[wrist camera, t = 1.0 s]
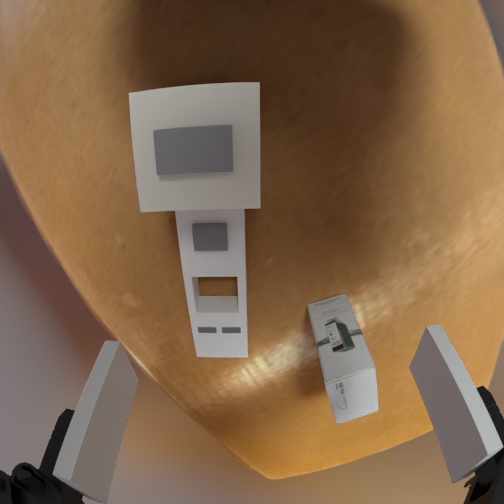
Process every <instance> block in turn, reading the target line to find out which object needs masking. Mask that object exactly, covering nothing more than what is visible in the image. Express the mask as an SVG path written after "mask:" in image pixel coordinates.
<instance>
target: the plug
mask: <svg viewBox="0 0 504 504" xmlns="http://www.w3.org/2000/svg"><path fill="white" fill-rule="evenodd" d="M129 106H130V121H131V134H132V146H133V156H134V165H135V174H136V182H137V190H138V198H139V205H140V212H156V211H180V210H211V209H261V197H260V82H238V83H215V84H200V85H188V86H178V87H168V88H160V89H153V90H146V91H139V92H133V93H129Z"/></svg>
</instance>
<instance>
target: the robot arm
mask: <svg viewBox="0 0 504 504" xmlns="http://www.w3.org/2000/svg"><path fill="white" fill-rule="evenodd" d="M409 368H410V370H411V372H412V375H413V377H414V379H415V382H416V384H417V387H418V389H419V391H420V394H421V396H422V399H423V401H424V404H425V406H426V409H427V412H428V414H429V417H430V419H431V422H432V425H433V427H434V430H435V433H436V436H437V438H438V441H439V444H440V447H441V450H442V453H443V456H444V459H445V462H446V465H447V468H448V471H449V474H450V478H451V481H452V483H455V482H457V481H459V480H462V479H464V478H466V477H468V476H469V475H471V474H472V473H473V472H475V476H474V477H473V478H471V479H470V480H469V481H467V482H466V484H465V485H464V487H467V486H468V485H470V484H471V486H470V487H469V491H468V494H467V496H466V499H465V501H464V504H504V419H503V416H502V414H501V413H500V410H499V408H498V406H497V405H496V402H495V400H494V398H493V396H492V394H491V393H490V392H489V391H488V390H487V389H486V388H485V387H484V386H481V387H478V388H476V387H475V385H474V383H473V381H472V379H471V377H470V375H469V374H468V372H467V370H466V368H465V366H464V364H463V363H462V361H461V359H460V357H459V355H458V354H457V352H456V350H455V349H454V347H453V345H452V343H451V342H450V340H449V338H448V337H447V335H446V333H445V332H444V330H443V328H442V327H441V325H440V324H437V325H432V326H426V328H425V331H424V333H423V336H422V338H421V341H420V343H419V346H418V348H417V351H416V353H415V355H414V358H413V360H412V362H411V364H410V367H409ZM138 382H139V380H138V378H137V376H136V374H135V372H134V370H133V368H132V366H131V364H130V362H129V359H128V357H127V355H126V353H125V351H124V348H123V346H122V344H121V342H120V341H105V342H104V345H103V347H102V349H101V351H100V353H99V356H98V358H97V360H96V362H95V364H94V367H93V369H92V371H91V374H90V376H89V378H88V380H87V383H86V385H85V387H84V390H83V392H82V395H81V397H80V400H79V402H78V404H77V407H76V410H75V411H74V410H70V409H66V410H65V411H64V412H63V413H62V414H61V415H60V416H59V418H58V420H57V422H56V425H55V430H53V433H52V435H51V439H50V441H49V443H48V446H47V449H46V452H45V454H44V457H43V460H42V463H41V466H40V468H39V470H38V469H36V468H35V467H34V466H32V465H31V464H29V463H20V464H18V465H17V466H16V467H15V468H14V469H13V471H12V475H11V476H9V475H7V474H6V473H5V472H3V471H1V470H0V504H84V502H83V501H82V497H83V496H85V497H87V498H88V499H90V500H93V501H97V502H100V503H104V504H107V500H108V495H109V490H110V486H111V482H112V478H113V473H114V469H115V465H116V461H117V457H118V453H119V449H120V445H121V442H122V438H123V434H124V430H125V427H126V423H127V420H128V416H129V413H130V409H131V406H132V402H133V399H134V395H135V392H136V389H137V385H138Z"/></svg>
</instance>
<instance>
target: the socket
mask: <svg viewBox="0 0 504 504" xmlns="http://www.w3.org/2000/svg"><path fill="white" fill-rule="evenodd" d="M175 216H176V224H177V233H178V241H179V249H180V256H181V264H182V271H183V278H184V284H185V291H186V297H187V304H188V310H189V316H190V322H191V327H192V333H193V339H194V344H195V349H196V355H197V357H248V318H247V280H246V239H245V209H211V210H180V211H175ZM198 277H237V283H238V296H200V290H199V282H198Z"/></svg>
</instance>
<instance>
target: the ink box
mask: <svg viewBox="0 0 504 504" xmlns="http://www.w3.org/2000/svg"><path fill="white" fill-rule="evenodd" d="M307 309H308V313H309V317H310V321H311V325H312V330H313V334H314V338H315V343H316V347H317V351H318V356H319V360H320V364H321V369H322V373H323V378H324V384H325V389H326V392H327V395H328V399H329V401H330V404H331V408H332V411H333V415H334V418H335V422H336V423H338V424H339V423H343V422H346V421H349V420H352V419H356V418H359V417H362V416H365V415H368V414H371V413H374V412H376V411H378V394H377V381H376V370H375V365H374V362H373V360H372V357H371V355H370V352H369V350H368V347H367V345H366V342H365V340H364V337H363V334H362V332H361V329H360V327H359V324H358V322H357V320H356V317H355V315H354V312H353V310H352V307H351V305H350V303H349V300H348V298H347V296H346V294H341V295H337V296H334V297H331V298H328V299H324V300H321V301H318V302H314V303H311V304H308V306H307Z"/></svg>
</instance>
